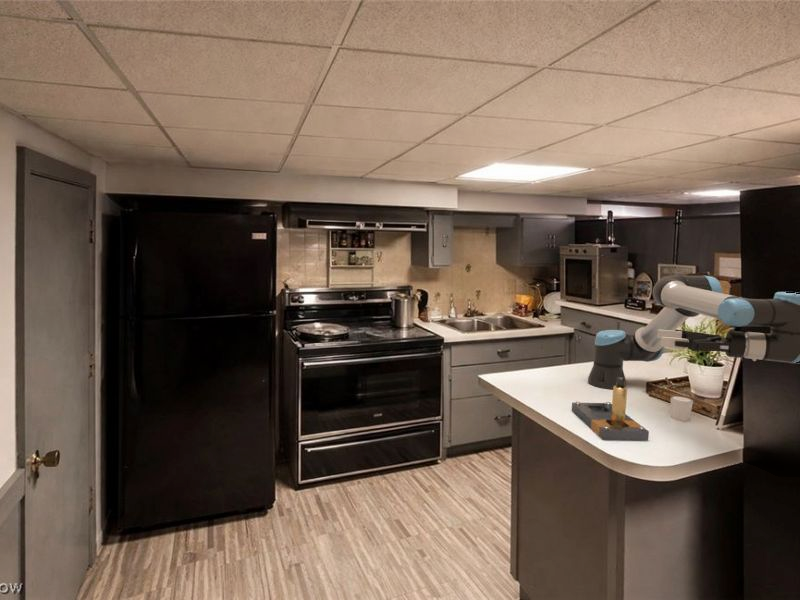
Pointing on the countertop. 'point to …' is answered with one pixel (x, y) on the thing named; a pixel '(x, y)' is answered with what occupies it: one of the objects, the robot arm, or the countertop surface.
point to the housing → (608, 422)
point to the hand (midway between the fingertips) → (659, 337)
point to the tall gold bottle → (619, 403)
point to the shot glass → (681, 408)
